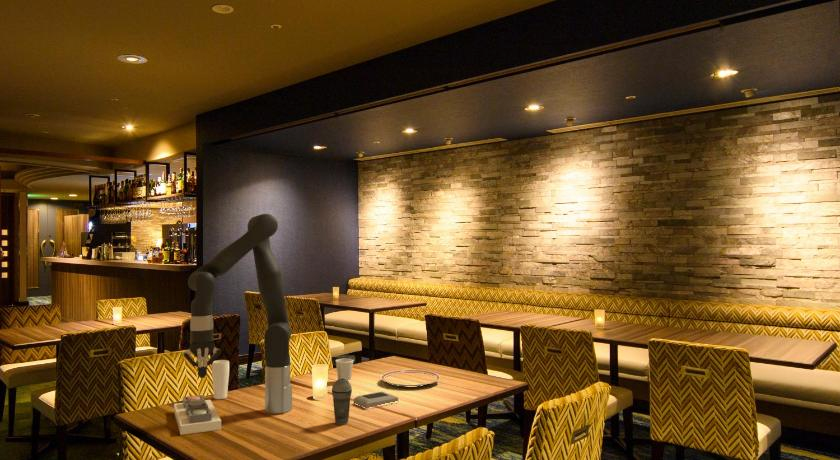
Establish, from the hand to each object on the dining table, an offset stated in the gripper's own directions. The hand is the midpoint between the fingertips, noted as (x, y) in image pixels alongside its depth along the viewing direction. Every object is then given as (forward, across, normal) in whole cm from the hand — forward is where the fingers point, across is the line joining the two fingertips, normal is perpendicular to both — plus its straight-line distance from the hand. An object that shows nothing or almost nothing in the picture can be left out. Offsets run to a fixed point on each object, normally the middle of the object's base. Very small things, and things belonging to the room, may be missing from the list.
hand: (202, 377), depth 207 cm
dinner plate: (+18, -93, -21) cm, 97 cm away
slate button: (+12, +1, -6) cm, 14 cm away
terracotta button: (+13, +1, -16) cm, 21 cm away
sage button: (+13, +1, +4) cm, 14 cm away
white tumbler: (+17, -12, -34) cm, 39 cm away
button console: (+16, +1, -6) cm, 18 cm away
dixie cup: (+18, -67, -36) cm, 78 cm away
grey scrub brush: (+18, -65, +4) cm, 68 cm away
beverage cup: (+18, -44, +21) cm, 52 cm away
